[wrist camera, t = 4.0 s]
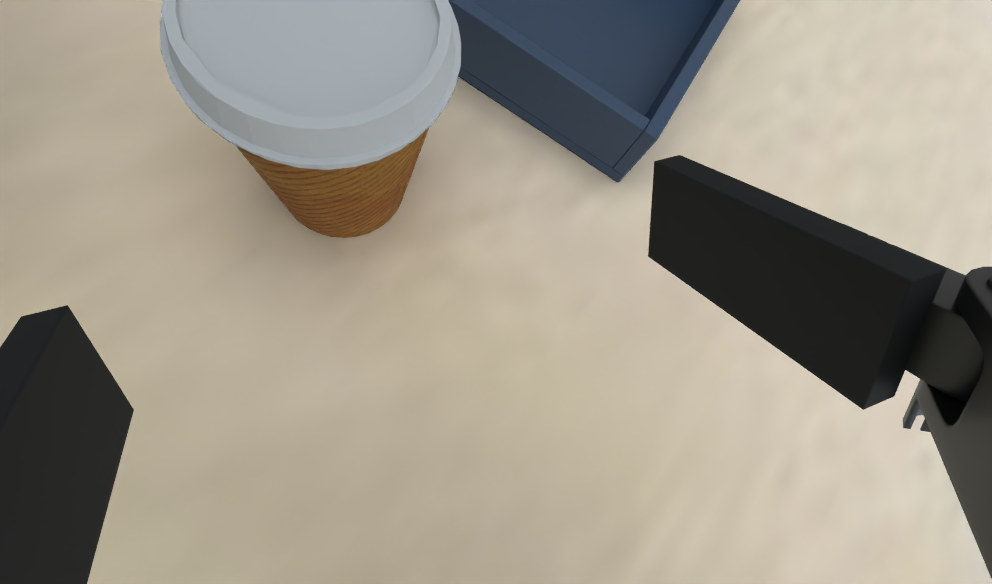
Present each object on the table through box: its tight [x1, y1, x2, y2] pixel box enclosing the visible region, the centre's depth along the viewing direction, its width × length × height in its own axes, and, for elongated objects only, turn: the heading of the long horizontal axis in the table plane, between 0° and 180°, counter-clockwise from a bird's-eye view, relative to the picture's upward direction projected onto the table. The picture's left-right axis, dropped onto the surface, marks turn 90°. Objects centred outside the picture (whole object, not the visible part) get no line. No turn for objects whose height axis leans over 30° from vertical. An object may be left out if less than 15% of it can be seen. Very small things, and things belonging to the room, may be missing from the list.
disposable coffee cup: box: [160, 0, 461, 237], centre depth 22 cm, size 10×10×12 cm
